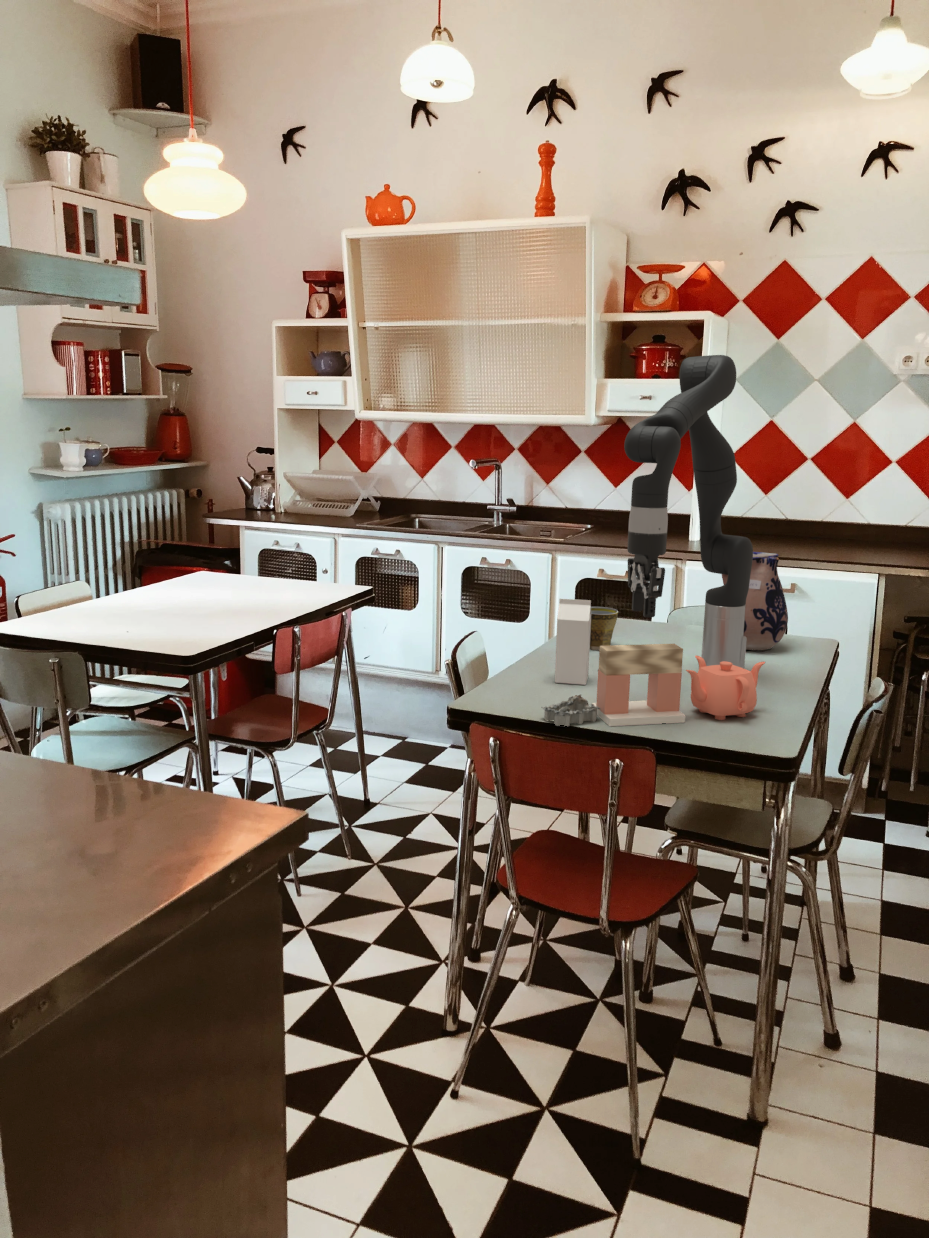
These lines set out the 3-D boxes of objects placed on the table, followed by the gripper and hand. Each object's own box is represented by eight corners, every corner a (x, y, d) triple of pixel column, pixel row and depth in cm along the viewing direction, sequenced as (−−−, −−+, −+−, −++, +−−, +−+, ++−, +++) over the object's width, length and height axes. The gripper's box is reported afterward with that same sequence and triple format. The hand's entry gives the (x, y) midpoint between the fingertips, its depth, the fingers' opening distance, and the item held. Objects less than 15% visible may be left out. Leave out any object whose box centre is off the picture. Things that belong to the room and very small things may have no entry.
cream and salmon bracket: (663, 706, 208) (665, 662, 206) (684, 722, 197) (688, 676, 195) (591, 709, 205) (593, 665, 203) (609, 726, 194) (611, 680, 192)
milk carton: (585, 685, 223) (589, 603, 219) (554, 683, 224) (557, 601, 220) (588, 677, 230) (592, 597, 226) (558, 675, 231) (561, 595, 227)
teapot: (682, 719, 200) (685, 666, 198) (692, 700, 213) (695, 651, 211) (756, 728, 195) (760, 674, 192) (761, 708, 208) (765, 658, 206)
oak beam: (672, 667, 203) (674, 643, 202) (681, 672, 198) (683, 648, 197) (598, 669, 200) (599, 645, 199) (605, 675, 195) (606, 651, 194)
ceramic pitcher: (759, 658, 250) (767, 561, 245) (692, 642, 266) (699, 551, 261) (798, 649, 261) (807, 555, 255) (732, 634, 277) (739, 546, 271)
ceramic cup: (624, 649, 257) (626, 611, 255) (595, 653, 252) (597, 615, 250) (591, 639, 268) (592, 603, 266) (563, 643, 262) (564, 606, 260)
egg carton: (581, 712, 204) (582, 693, 203) (603, 722, 198) (604, 702, 197) (538, 718, 199) (539, 699, 198) (559, 729, 193) (559, 709, 192)
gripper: (680, 534, 187) (675, 620, 190) (651, 525, 201) (647, 606, 204) (643, 534, 185) (638, 622, 189) (616, 525, 199) (612, 607, 203)
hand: (643, 613), depth 196 cm, fingers open, 5 cm apart
